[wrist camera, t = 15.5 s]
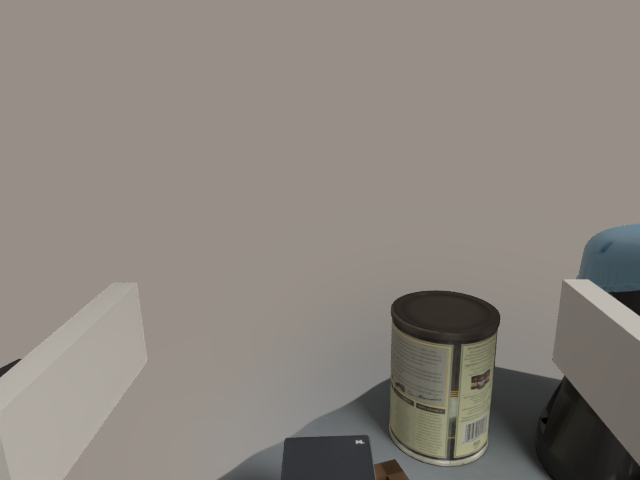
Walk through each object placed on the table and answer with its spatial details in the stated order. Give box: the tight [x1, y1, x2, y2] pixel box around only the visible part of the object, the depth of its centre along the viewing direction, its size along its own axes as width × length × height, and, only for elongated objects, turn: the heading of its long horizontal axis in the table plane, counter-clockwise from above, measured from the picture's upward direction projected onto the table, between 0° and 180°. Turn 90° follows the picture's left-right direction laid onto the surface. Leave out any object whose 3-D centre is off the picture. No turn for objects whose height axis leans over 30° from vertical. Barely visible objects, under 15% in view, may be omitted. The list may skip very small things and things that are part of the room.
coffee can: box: [389, 291, 500, 466], centre depth 49 cm, size 10×10×14 cm
